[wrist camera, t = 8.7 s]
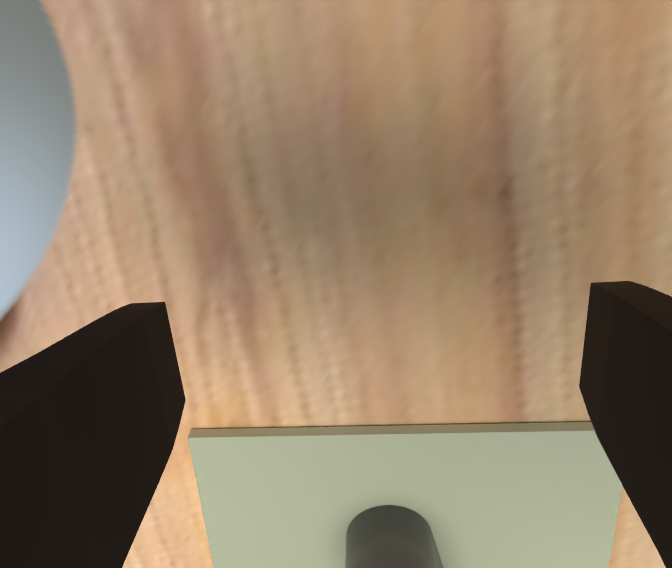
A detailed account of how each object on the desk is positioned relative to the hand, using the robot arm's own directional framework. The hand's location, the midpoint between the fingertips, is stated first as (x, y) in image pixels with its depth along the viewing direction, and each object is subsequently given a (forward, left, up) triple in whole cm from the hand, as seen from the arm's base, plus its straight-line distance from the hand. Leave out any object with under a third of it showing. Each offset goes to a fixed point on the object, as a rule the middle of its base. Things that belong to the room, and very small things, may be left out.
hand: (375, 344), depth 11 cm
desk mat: (-1, +17, -9) cm, 20 cm away
